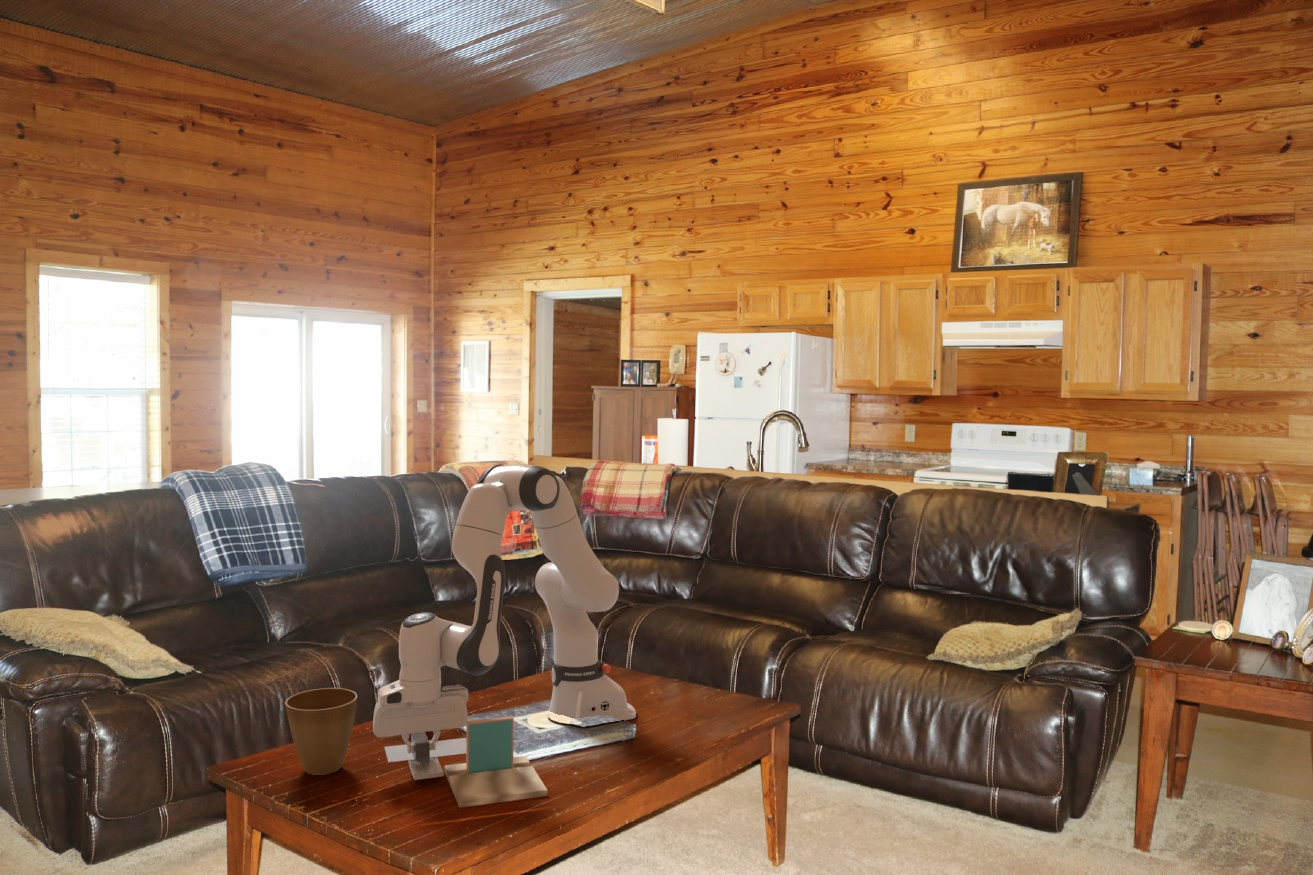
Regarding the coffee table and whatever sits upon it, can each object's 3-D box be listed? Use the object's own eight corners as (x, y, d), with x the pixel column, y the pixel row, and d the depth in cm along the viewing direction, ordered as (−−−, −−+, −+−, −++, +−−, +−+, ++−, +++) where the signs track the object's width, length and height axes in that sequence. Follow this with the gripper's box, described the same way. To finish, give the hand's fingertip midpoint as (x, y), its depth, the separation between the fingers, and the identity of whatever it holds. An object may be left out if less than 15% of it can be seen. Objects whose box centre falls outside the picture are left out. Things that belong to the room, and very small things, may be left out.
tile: (512, 770, 221) (512, 716, 221) (513, 772, 220) (513, 718, 220) (466, 775, 218) (466, 721, 217) (467, 778, 217) (467, 723, 216)
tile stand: (525, 762, 227) (525, 755, 227) (547, 797, 208) (547, 789, 208) (444, 772, 221) (444, 765, 221) (459, 809, 202) (459, 801, 202)
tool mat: (479, 737, 242) (479, 736, 242) (487, 752, 233) (487, 750, 233) (384, 748, 235) (384, 746, 235) (388, 763, 225) (388, 762, 225)
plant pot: (301, 756, 229) (300, 687, 228) (366, 758, 229) (366, 688, 228) (274, 782, 214) (273, 708, 214) (344, 784, 214) (343, 709, 213)
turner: (404, 751, 227) (404, 733, 226) (431, 747, 229) (431, 730, 229) (414, 780, 210) (413, 760, 210) (443, 775, 212) (443, 757, 212)
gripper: (465, 679, 228) (466, 739, 229) (371, 689, 221) (372, 751, 222) (470, 687, 222) (471, 749, 223) (373, 698, 215) (375, 762, 216)
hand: (421, 750), depth 222 cm, fingers closed on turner, 3 cm apart
